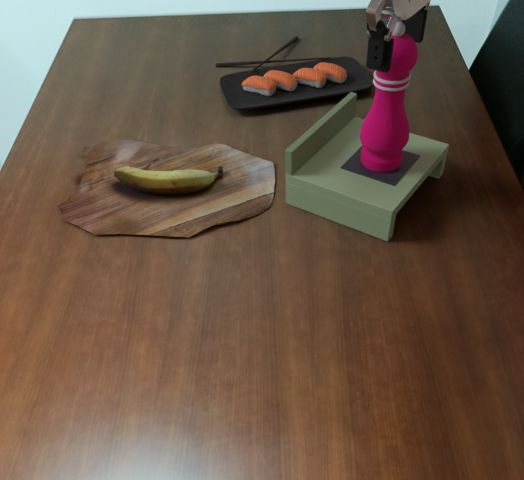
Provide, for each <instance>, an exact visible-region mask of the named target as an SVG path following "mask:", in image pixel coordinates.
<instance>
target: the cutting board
mask: <svg viewBox="0 0 524 480" xmlns="http://www.w3.org/2000/svg"><path fill="white" fill-rule="evenodd" d="M86 157H87V158H86V163H85V170H84V172H83V176H82V177H81V180H80V183H79V185H78V186H77V187H76V189H75V190H74V191H73V193H72V194H71V195H70V196H69V197H68V198H67V199H66V200H65V201H63V202H61V203H60V204H57V205H55V207H56V208H59V209H60V211H61V218H62V220H63V221H65V222H68V223H70V224H72V225H74V226H76V227H79V228H80V229H82V230H84V231H87V232H88V233H91V234H92V235H94V236H102V235H135V236H136V235H137V236H153V237H155V236H157V237H175V238H177V237H178V238H191V237H192V236H194V235H197V234H199V233H200V232H202V231H204V230H206V229H208V228H211V227H213V226H216V225H217V226H219V225H224V224H228V223H229V222H239V221H242V220H246V219H247V218H251V217H255V216H258V215H260V214H262V213H263V212H265V211H266V210H268V209H269V208H270V207H271V205H272V203H273V200H274V196H275V185H276V184H275V183H276V169H275V164H274V161H270V160H267V159H265V158H261V157H259V156H255V155H253V154H249V153H247V152H244V151H242V150H239V149H237V148H233V147H231V146H229V145H227V144H224V143H218V142H217V143H215V142H214V143H211V144H205V145H203V146H198V147H189V148H180V147H174V146H171V145H164V144H158V143H157V144H156V143H151V142H146V141H141V140H136V139H131V138H129V139H116V140H106V141H103V142H100V143H97V144H94V146H93V147H92V148H91V149H90V150H89V151H88V152H87V156H86Z"/></svg>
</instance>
